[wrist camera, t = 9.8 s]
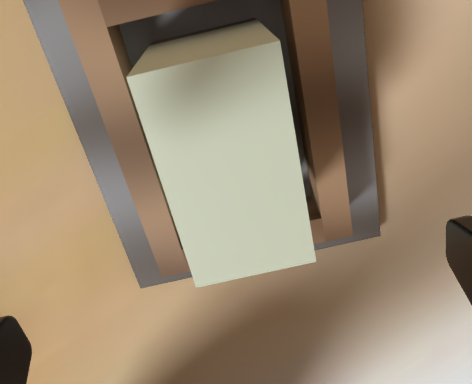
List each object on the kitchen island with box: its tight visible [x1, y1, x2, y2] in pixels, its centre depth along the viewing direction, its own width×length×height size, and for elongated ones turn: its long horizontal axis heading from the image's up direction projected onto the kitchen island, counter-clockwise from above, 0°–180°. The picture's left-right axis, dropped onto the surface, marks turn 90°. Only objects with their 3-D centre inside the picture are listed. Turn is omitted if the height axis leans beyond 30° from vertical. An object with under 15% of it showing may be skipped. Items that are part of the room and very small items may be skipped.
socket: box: [23, 0, 381, 288], centre depth 17 cm, size 15×12×3 cm
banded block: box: [126, 18, 316, 288], centre depth 15 cm, size 4×7×6 cm, turn 12°
